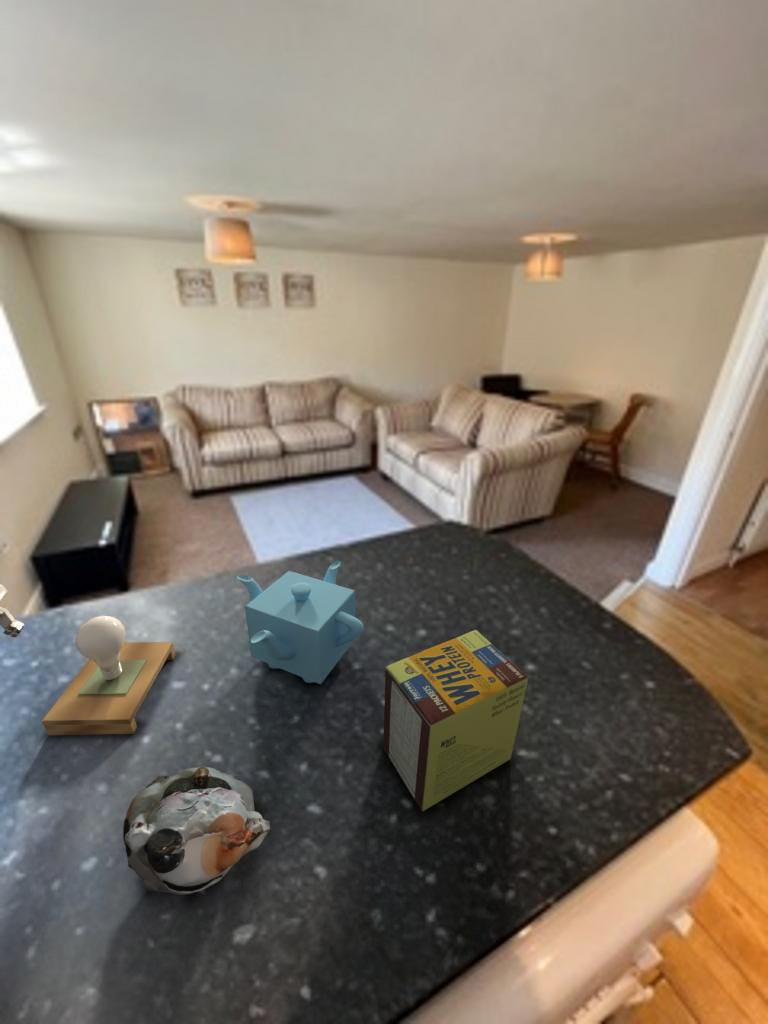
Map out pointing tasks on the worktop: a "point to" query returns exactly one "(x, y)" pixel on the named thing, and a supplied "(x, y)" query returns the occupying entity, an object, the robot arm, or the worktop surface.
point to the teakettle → (301, 623)
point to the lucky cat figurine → (191, 829)
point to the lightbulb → (102, 643)
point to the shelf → (109, 693)
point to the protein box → (451, 715)
